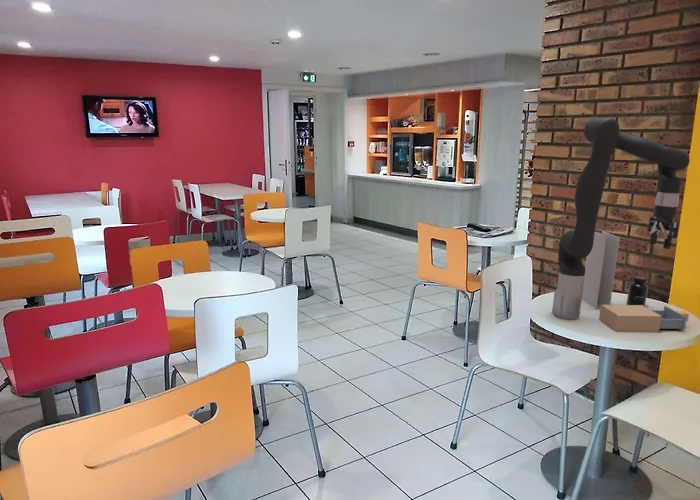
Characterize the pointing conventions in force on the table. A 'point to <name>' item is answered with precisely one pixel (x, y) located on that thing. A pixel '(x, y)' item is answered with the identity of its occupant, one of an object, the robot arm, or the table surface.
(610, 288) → the grey standing panel
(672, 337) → the table surface
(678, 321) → the tray
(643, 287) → the supplement bottle
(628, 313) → the sleeve
